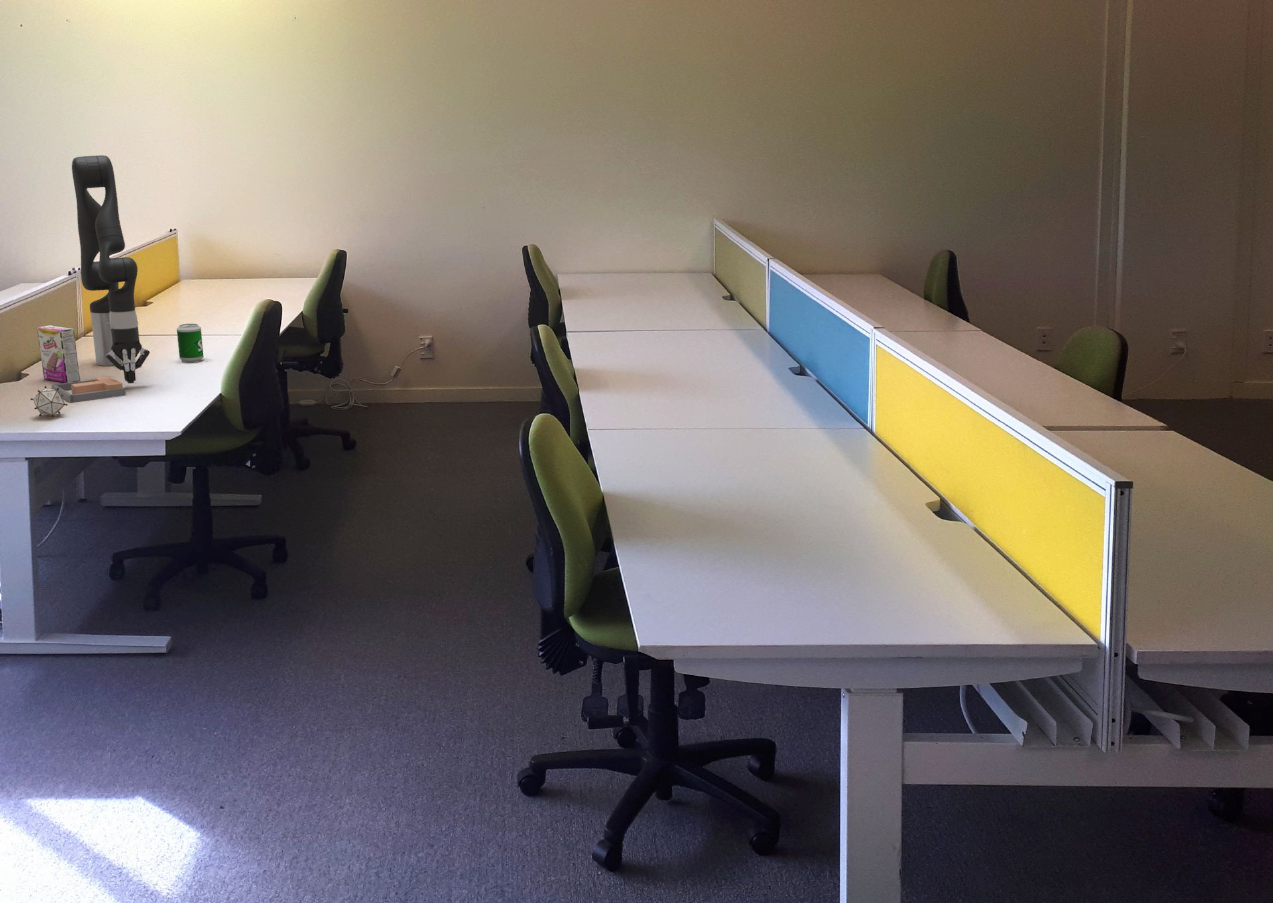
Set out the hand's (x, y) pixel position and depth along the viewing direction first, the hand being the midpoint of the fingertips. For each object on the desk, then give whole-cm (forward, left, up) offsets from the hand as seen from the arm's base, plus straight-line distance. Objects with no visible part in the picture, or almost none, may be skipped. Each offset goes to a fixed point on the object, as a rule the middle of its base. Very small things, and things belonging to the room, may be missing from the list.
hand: (130, 382), depth 364 cm
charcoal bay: (0, -11, -1) cm, 11 cm away
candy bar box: (-23, -13, -2) cm, 26 cm away
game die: (+22, -28, -2) cm, 36 cm away
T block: (0, -10, -2) cm, 10 cm away
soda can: (-28, +29, -2) cm, 40 cm away
